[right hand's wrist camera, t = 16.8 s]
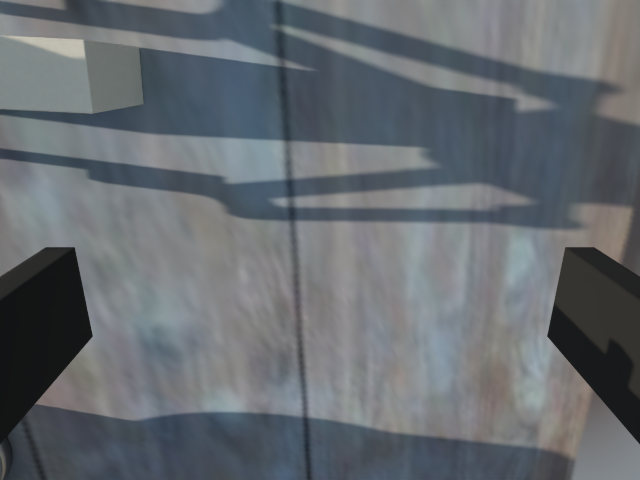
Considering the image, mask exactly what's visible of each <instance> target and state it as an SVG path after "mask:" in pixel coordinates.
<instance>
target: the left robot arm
mask: <svg viewBox="0 0 640 480" xmlns="http://www.w3.org/2000/svg"><path fill="white" fill-rule="evenodd" d="M11 462H12V454H11V448H10V445H9V442H8V440H7V438H5V439H4V440H3V441H2V443H1V444H0V480H4V478H5V477H6V476H7V474H8V472H9V470H10V467H11Z"/></svg>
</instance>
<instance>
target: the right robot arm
mask: <svg viewBox="0 0 640 480" xmlns="http://www.w3.org/2000/svg"><path fill="white" fill-rule="evenodd" d="M92 337H93V335H92V331H91V326H90V321H89V316H88V311H87V306H86V301H85V296H84V291H83V286H82V281H81V277H80V272H79V267H78V262H77V257H76V252H75V247H46V248H44V249H43V250H41V251H40V252H38V253H36V254H35V255H33V256H32V257H30V258H29V259H27V260H26V261H24V262H22V263H21V264H19V265H18V266H16V267H15V268H13V269H12V270H10V271H8V272H7V273H5V274H4V275H2V276H1V277H0V444H1V443H2V441H3V440H4V439H5V438H6V437H7V436H8V434H9V433H10V432H11V431H12V430H13V429H14V427H15V426H16V425H17V424H18V423H19V422H20V420H21V419H22V418H23V417H24V416H25V415H26V413H27V412H28V411H29V410H30V409H31V408H32V406H33V405H34V404H35V403H36V402H37V401H38V399H39V398H40V397H41V396H42V395H43V394H44V393H45V391H46V390H47V389H48V388H49V387H50V386H51V384H52V383H53V382H54V381H55V380H56V379H57V377H58V376H59V375H60V374H61V373H62V372H63V370H64V369H65V368H66V367H67V366H68V365H69V363H70V362H71V361H72V360H73V359H74V358H75V356H76V355H77V354H78V353H79V352H80V351H81V349H82V348H83V347H84V346H85V345H86V344H87V342H88V341H89V340H90V339H91V338H92ZM547 337H548V338H549V339H550V340H551V341H552V342H553V344H554V345H555V346H556V347H557V348H558V349H559V351H560V352H561V353H562V354H563V355H564V356H565V358H566V359H567V360H568V361H569V362H570V363H571V365H572V366H573V367H574V368H575V369H576V370H577V372H578V373H579V374H580V375H581V376H582V377H583V379H584V380H585V381H586V382H587V383H588V384H589V386H590V387H591V388H592V389H593V390H594V391H595V393H596V394H597V395H598V396H599V397H600V398H601V400H602V401H603V402H604V403H605V404H606V405H607V406H608V408H609V409H610V410H611V411H612V412H613V413H614V415H615V416H616V417H617V418H618V419H619V420H620V422H621V423H622V424H623V425H624V426H625V427H626V429H627V430H628V431H629V432H630V433H631V434H632V436H633V437H634V438H635V439H636V440H637V441H638V443H639V444H640V277H639V276H638V275H636V274H635V273H633V272H632V271H630V270H628V269H627V268H625V267H624V266H622V265H621V264H619V263H618V262H616V261H614V260H613V259H611V258H610V257H608V256H607V255H605V254H604V253H602V252H600V251H599V250H597V249H596V248H594V247H565V252H564V257H563V262H562V267H561V272H560V277H559V281H558V286H557V291H556V296H555V301H554V306H553V311H552V316H551V321H550V326H549V331H548V335H547Z"/></svg>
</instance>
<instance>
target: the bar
mask: <svg viewBox="0 0 640 480" xmlns="http://www.w3.org/2000/svg"><path fill="white" fill-rule="evenodd" d="M142 104H144V101H143V89H142V77H141V65H140V53H139V47H134V46H126V45H119V44H111V43H104V42H97V41H89V40H79V39H60V38H41V37H22V36H3V35H0V109H7V110H27V111H47V112H67V113H87V114H94V113H99V112H105V111H110V110H115V109H121V108H126V107H132V106H137V105H142Z"/></svg>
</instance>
